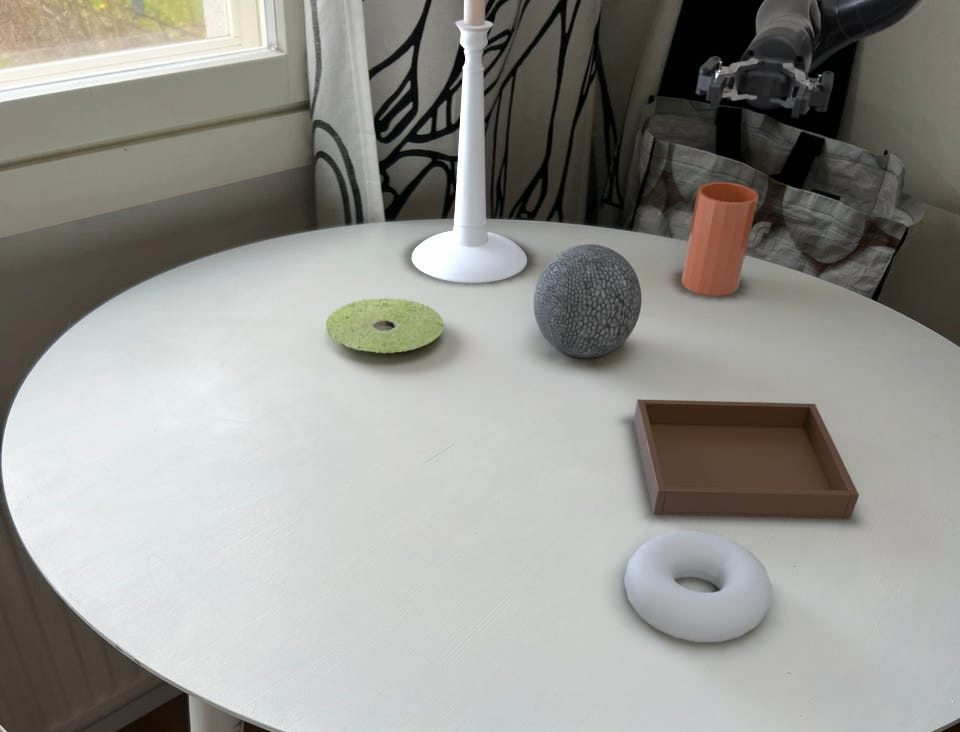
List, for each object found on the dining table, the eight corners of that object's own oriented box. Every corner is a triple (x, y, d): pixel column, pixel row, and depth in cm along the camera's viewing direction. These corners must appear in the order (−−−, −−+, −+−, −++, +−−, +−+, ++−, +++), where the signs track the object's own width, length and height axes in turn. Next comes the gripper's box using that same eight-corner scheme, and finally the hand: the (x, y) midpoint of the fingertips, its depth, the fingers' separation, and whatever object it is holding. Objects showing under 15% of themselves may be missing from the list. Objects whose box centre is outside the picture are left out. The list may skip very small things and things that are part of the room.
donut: (592, 605, 66) (715, 676, 61) (597, 567, 64) (725, 637, 59) (673, 541, 71) (792, 601, 67) (681, 503, 69) (805, 563, 64)
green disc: (344, 310, 97) (343, 291, 95) (453, 321, 96) (453, 302, 94) (313, 363, 89) (311, 344, 87) (431, 376, 88) (431, 357, 86)
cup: (730, 277, 105) (751, 182, 98) (741, 301, 101) (764, 204, 94) (677, 276, 105) (693, 181, 98) (685, 300, 101) (703, 202, 94)
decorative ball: (580, 389, 87) (593, 282, 80) (508, 347, 92) (514, 243, 85) (654, 356, 92) (672, 253, 85) (582, 318, 97) (593, 218, 90)
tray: (806, 432, 83) (815, 403, 81) (848, 524, 73) (859, 495, 71) (632, 427, 82) (637, 398, 80) (652, 520, 73) (658, 490, 71)
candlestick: (538, 284, 102) (563, -57, 81) (420, 290, 100) (415, -57, 79) (513, 237, 111) (529, -81, 90) (404, 242, 109) (396, -82, 88)
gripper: (722, 18, 109) (695, 52, 99) (848, 34, 106) (835, 70, 95) (708, 91, 115) (682, 130, 104) (828, 107, 112) (814, 150, 101)
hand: (755, 101), depth 100 cm, fingers open, 8 cm apart
